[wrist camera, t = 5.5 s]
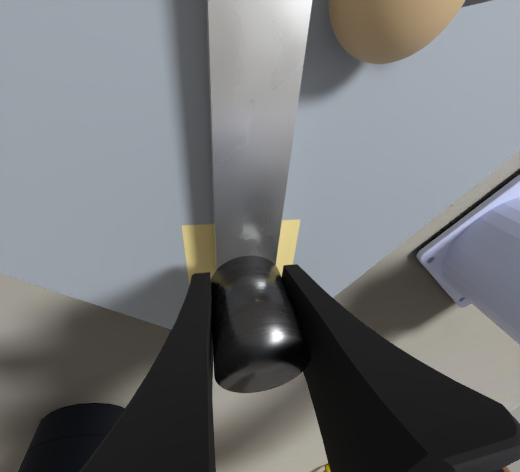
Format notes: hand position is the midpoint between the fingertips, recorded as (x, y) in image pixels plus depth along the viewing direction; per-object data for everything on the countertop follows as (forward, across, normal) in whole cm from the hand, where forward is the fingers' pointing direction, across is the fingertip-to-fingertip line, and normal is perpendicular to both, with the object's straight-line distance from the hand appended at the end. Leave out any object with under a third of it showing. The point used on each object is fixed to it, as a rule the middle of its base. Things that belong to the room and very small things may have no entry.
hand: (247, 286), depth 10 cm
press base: (+3, -1, -5) cm, 6 cm away
